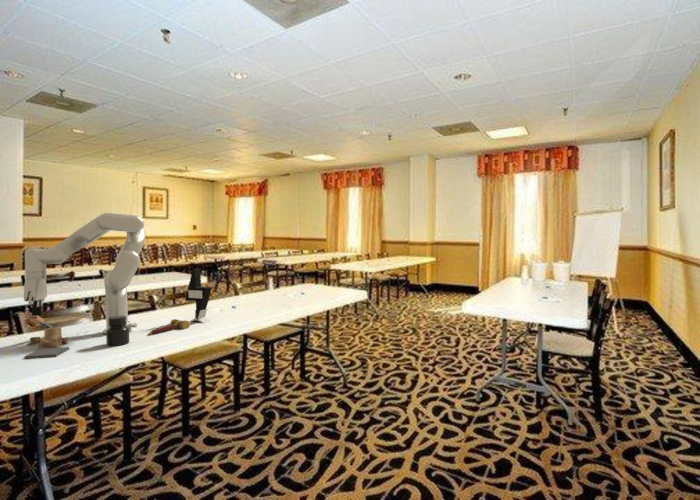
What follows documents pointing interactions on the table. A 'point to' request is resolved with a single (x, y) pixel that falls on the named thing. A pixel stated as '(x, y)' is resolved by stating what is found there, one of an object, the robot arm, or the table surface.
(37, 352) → the mat
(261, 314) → the table surface
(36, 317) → the cutter lever
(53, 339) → the block
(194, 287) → the award
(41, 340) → the lever base
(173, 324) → the gavel
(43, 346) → the cradle
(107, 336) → the ink bottle
